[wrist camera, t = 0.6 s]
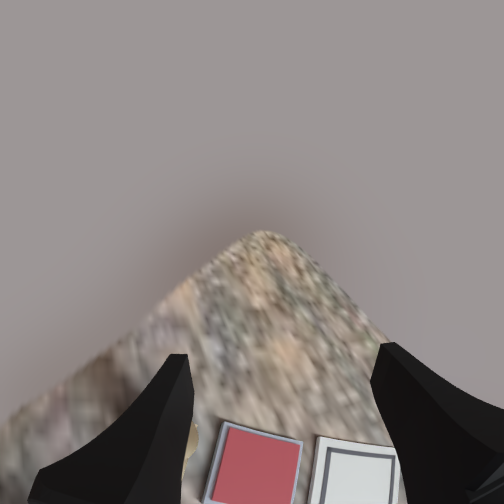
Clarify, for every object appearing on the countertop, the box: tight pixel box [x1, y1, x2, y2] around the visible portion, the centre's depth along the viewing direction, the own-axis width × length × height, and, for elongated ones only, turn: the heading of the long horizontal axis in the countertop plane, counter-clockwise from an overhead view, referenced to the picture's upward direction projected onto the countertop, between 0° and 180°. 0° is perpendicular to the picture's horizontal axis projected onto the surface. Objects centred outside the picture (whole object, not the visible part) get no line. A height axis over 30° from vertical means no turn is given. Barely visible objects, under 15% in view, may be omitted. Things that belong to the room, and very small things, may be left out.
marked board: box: [307, 436, 400, 504], centre depth 24 cm, size 12×12×1 cm
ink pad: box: [201, 421, 303, 504], centre depth 22 cm, size 8×8×1 cm
